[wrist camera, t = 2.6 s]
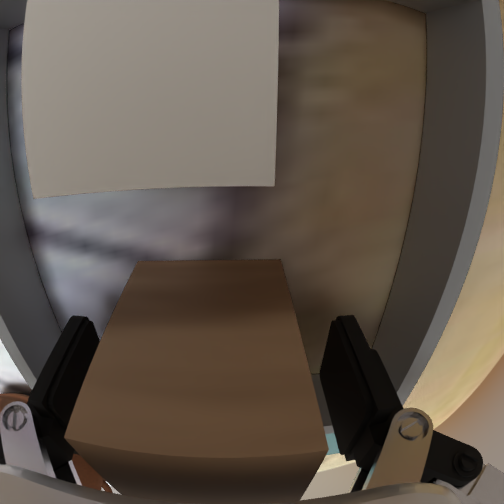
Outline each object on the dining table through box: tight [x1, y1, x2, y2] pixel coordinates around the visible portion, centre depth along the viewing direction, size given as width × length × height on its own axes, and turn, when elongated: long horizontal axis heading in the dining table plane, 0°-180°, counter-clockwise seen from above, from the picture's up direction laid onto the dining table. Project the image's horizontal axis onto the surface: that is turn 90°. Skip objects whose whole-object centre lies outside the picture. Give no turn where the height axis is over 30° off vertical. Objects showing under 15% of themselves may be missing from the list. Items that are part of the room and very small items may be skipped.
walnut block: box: [64, 259, 329, 504], centre depth 9 cm, size 5×5×7 cm
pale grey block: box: [21, 0, 279, 199], centre depth 6 cm, size 4×4×5 cm
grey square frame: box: [0, 0, 504, 434], centre depth 8 cm, size 17×16×3 cm
